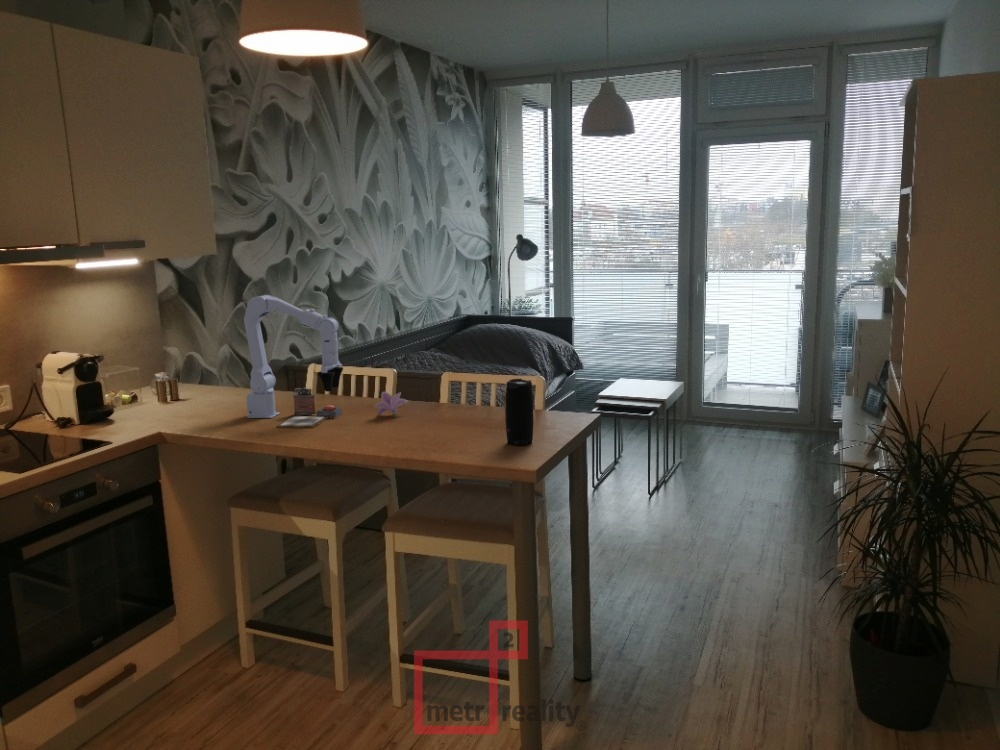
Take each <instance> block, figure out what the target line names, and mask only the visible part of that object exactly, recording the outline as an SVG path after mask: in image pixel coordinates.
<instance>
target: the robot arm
mask: <svg viewBox="0 0 1000 750" xmlns="http://www.w3.org/2000/svg"><path fill="white" fill-rule="evenodd" d="M277 311H279V312H281V313H284V314H286V315H288V316H291V317H294V318H296V319H299V321H300V324H302V325H304V326H307V327H308V328H311V329H314V330H315V331H318V332H319V334H320V338H321V339H320V342H321V343H320V344H321V358H322V359H321V363H322V364H321V367H320V371H318V372H317V374H318V377H319V378H320V380H321V383H322V386H323V389H324V391H325V392H332V389H333V388H339V385H340V379H341V376H342V373H343V371H344V367H343V363H341V361H340V360H339V341H338V332H337V331H339V328H340V327H339V326H340V325H339V322H338V320H337V319H335V318H334V317H331V316H330V317H327V315H326V314H321V313H319V312H317V311H316V309H314V308H310V309H309V308H306V309H301V308H299V307H297V306H296V305H293V304H291V303H289V302H286V301H285V300H283V299H280V298H279V297H277V296H273V295H271V294H263V295H260V296H259V295H258V296H257V295H256V296H253V297H252V298H251V299H250V300H249V301H248V302H247V304H246V310H245V312H244V316H243V323H244V328H245V334H246V339H247V344H248V349H249V355H250V360H251V361H250V362H251V364H252V365H251V366H252V368H251V371H250V382H249V387H250V389H251V391H252V392H248V394H247V395H246V413H247V416H246V418H247V419H272V418H274V417H275V416H277V415H280V414H281V412H279V411H276V400H275V390H274V387H275V386H276V384H277V378H276V376H275V375H274V373H273V370H272V368H271V366H270V365H269V364H268V359H267V353H266V348H265V341H264V338H263V332H262V326H261V321H262V320H263V319H264V318H265V317H266V316H267V315H268V314H269V313H272V312H277Z"/></svg>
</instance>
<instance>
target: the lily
mask: <svg viewBox="0 0 1000 750" xmlns="http://www.w3.org/2000/svg"><path fill="white" fill-rule="evenodd" d="M401 395H402V392H398V393H395V394H394V395H391V394H390V393H388V392H387V391H382V392H381V395H380V396H381V397H380V398H381V401H380V402H379V401H378V402H376V403H375V404H373V405H372V406H373V407H375V408H378V410H377V416H378V415H379V416H381V415H383V414H384V413H386V412H388V411H389V412H391V413H392V415H393V419H394V420H395V419H396V417H395V415H397V414H398V406H401V405H403V404H406V403H408V402H409V400H407V399H405V398H400V397H401Z"/></svg>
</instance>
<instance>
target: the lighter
mask: <svg viewBox="0 0 1000 750" xmlns="http://www.w3.org/2000/svg"><path fill="white" fill-rule="evenodd" d="M294 392H295V393H294V394H292V396H293V406H294V409H293V410H294V412H293V414H294V415H293V416H299V415H309V416H313V415H312V414H316V415H317V411H316V402H315V401H316V400H315V399H316V398H315V397H316V394H315V393H312V389H311V388H307V387H303V388H302V387H297V388H296V387H295V388H294Z"/></svg>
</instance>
